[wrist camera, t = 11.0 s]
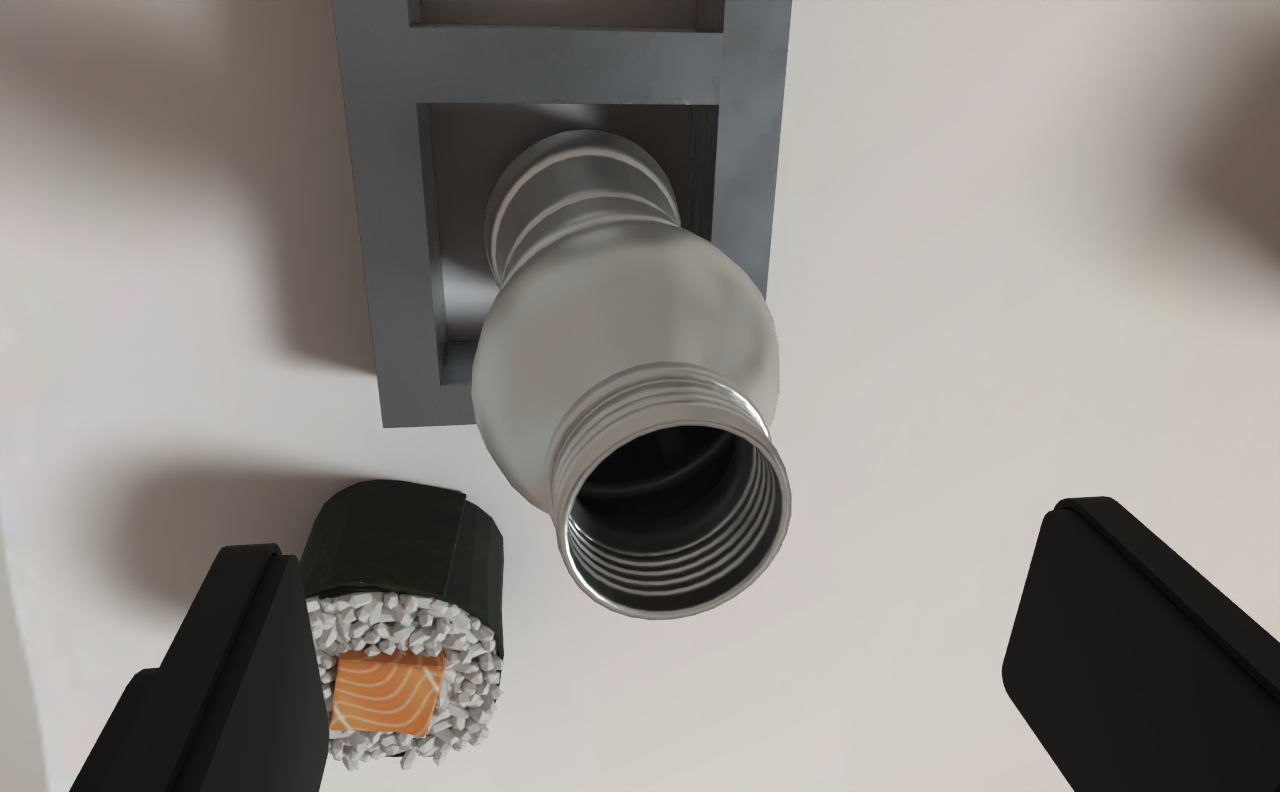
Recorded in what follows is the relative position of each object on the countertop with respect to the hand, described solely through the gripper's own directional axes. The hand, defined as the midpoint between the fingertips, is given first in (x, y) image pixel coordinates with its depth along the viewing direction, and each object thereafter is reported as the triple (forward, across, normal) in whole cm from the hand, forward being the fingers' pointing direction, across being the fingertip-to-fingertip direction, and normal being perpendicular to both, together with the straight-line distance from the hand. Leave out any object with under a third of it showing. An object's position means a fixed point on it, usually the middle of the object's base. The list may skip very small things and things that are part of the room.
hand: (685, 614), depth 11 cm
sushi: (+22, +7, +15) cm, 28 cm away
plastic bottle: (+22, 0, 0) cm, 22 cm away
